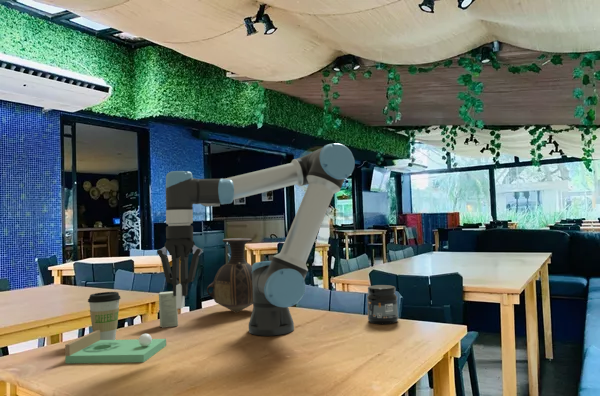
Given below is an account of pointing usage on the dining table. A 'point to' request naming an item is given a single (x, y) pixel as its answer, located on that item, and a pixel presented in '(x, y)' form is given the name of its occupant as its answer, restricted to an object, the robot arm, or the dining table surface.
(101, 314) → the coffee cup
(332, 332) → the dining table surface
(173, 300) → the skincare box
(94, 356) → the putting platform
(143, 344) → the ball
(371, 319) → the supplement container
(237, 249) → the vase
